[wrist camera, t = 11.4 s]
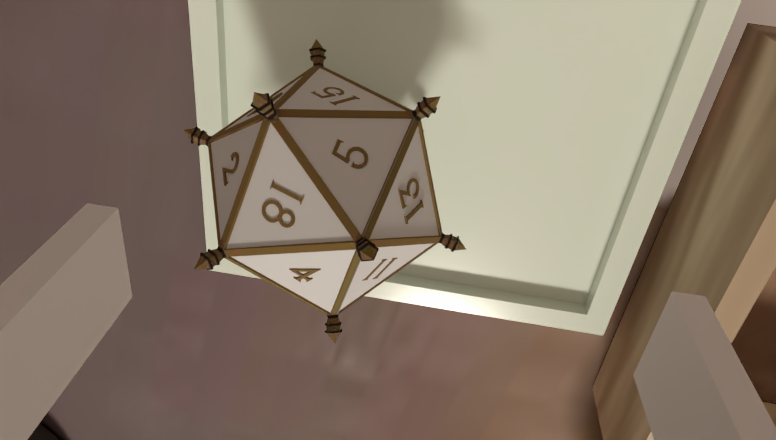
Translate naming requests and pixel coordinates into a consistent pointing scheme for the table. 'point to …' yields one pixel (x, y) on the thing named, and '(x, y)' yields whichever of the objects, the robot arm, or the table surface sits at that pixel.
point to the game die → (323, 189)
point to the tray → (495, 128)
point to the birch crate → (707, 231)
